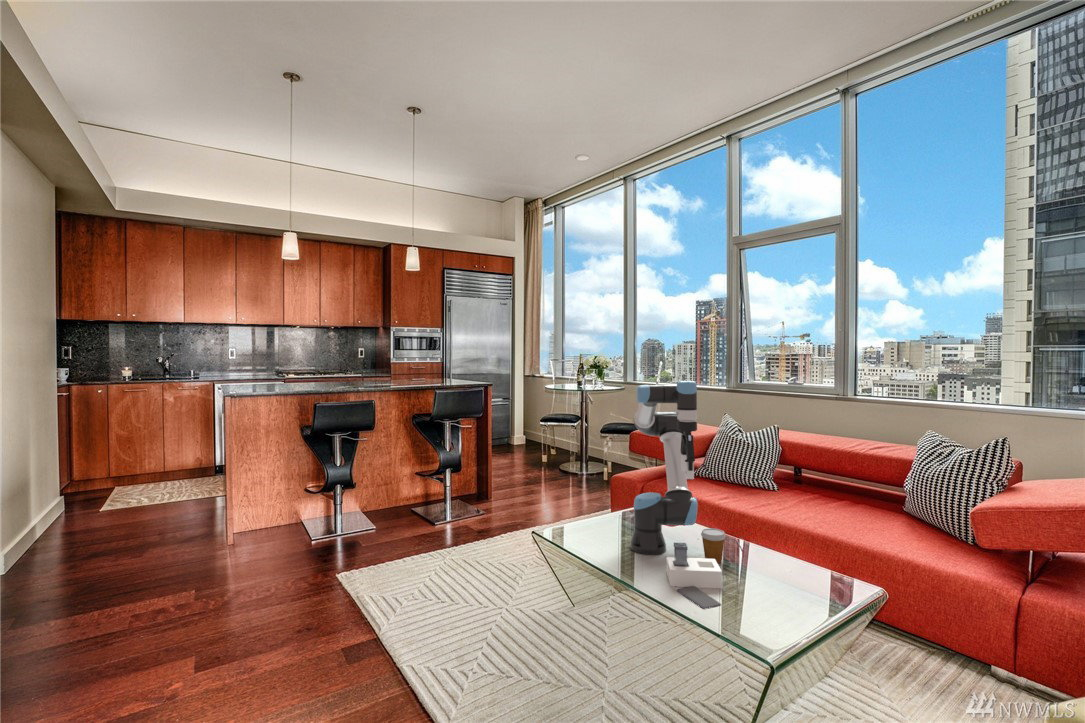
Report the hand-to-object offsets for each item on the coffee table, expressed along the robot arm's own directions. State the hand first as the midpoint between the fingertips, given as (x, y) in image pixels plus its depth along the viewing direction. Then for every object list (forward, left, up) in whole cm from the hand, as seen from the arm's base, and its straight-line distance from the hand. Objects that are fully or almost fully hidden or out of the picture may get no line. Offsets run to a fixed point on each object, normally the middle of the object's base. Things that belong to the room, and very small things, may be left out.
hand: (687, 474), depth 203 cm
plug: (+11, -4, -36) cm, 38 cm away
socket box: (+11, 0, -37) cm, 38 cm away
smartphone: (+25, 0, -37) cm, 45 cm away
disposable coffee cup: (-8, +11, -37) cm, 39 cm away
